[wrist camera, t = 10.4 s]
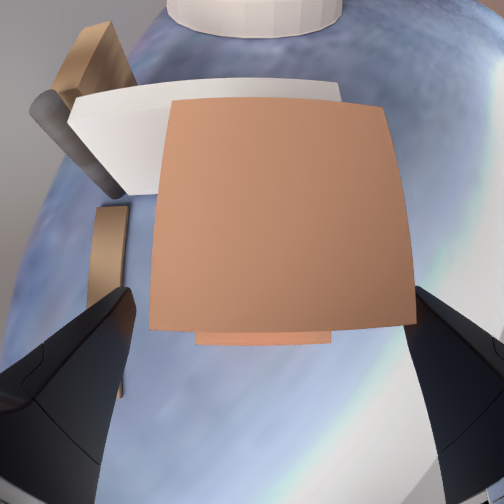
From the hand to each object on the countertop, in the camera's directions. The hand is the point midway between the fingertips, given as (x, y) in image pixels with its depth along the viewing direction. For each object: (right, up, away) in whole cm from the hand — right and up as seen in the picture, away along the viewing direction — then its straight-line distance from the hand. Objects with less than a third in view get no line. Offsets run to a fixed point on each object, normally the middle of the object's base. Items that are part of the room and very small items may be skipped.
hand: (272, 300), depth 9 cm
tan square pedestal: (0, 0, +9) cm, 9 cm away
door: (-3, +5, +10) cm, 12 cm away
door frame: (-10, +3, +10) cm, 14 cm away
